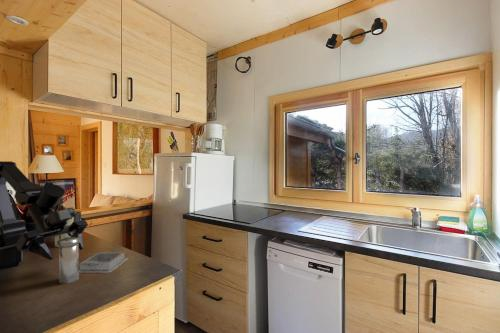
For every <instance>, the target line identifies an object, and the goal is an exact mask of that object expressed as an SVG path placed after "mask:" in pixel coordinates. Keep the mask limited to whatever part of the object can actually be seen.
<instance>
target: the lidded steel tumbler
mask: <svg viewBox="0 0 500 333" xmlns="http://www.w3.org/2000/svg"><path fill="white" fill-rule="evenodd" d="M79 243H80V238H78V237H69V238H64V239H61V240H59V241H57V246H58V247H57V248H58V266H59V267H58V270H59V271H58V272H59V273H58V278H59V284H61V285H62V284H63V285H66V284H71V283H75V282H76V281H78V280H79V279H80V277H79V276H80V273H79V269H80V263H79V256H80V255H79V250H80V249H79V248H78V244H79Z"/></svg>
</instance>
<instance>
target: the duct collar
mask: <svg viewBox="0 0 500 333" xmlns="http://www.w3.org/2000/svg"><path fill="white" fill-rule="evenodd" d="M127 260H129V258H128V257H125V252H97V253H95V254H93V255H92V256H89V257H88V258H87V259H84V260H83V261H82V262H80V263H79V274H81V273H83V274H84V273H93V274H94V273H99V274H100V273H103V274H107V273H111V272H113V271H114V270H116V269H117V268H118V267H119V266H121V265H122V264H124V263H125V262H126V261H127Z"/></svg>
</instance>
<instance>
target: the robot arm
mask: <svg viewBox="0 0 500 333" xmlns="http://www.w3.org/2000/svg"><path fill="white" fill-rule="evenodd" d="M7 183H8V184H9V185H10V187H11V188H12V189H13V191H14V192H15V193H14V196H13V197H14V198H15V201H16V203H18V205H20V206H29V208H28V210H27V212H26V217H28V218H29V217H31V218H32V219H33V221H34V222H35V226H34V228H35V229H34V230H30V231H28V229H27V228H26V225H25V224H26V223H25V222H24V221H23V220H18V219H16V215H15V212H14V208H13V205H12V202H11V198H10V195H9V190H8V188H7ZM65 194H66V190H65V189H64V188H63V187H62V186H59V185H57V184H54V182H44V185H43V186H41V184H38V183H35V182H32V181H30V179H28V177H27V176H26V175H25V174H24V172H22V171H21V169H20V168H18V166H17V164H16V162H14V161H6V160H5V161H2V160H1V161H0V269H6V268H11V267H12V268H13V267H17V266H20V264H21V263H22V262H23V260H24V258H23V257H24V255H23V254H24V252H23V251H25V252H31V253H34V254H37V255H39V256H41V257H42V258H45V259H47V260H49V261H53V259H54V255H53V254H52V252H51V251H50V249H49V247H48V246H47V244H46V242H45V239H50V238H53V237H54V238H55V236H58V235H62V234H66V233H67V234H68V235H69V236H71V237H78V238H80V243H79V244H78V249H79V250H80V251H82V250H83V249H84V243H83V232H84V231H85V229H86V228H87V227H88V226H89V223H88V222H87V221H86V219H81V220H79V221H75V222H73V223H72V224H71V225H70V227H66V228H64V225H66V224H67V221H68V220H69V219H72V217H74V216H76V210H75V208H74V207H67V208H65V209H63V210H56V211H55V210H54V209H53V208H55V207H57V206H58V203H59V202H60V201H61V199H63V197H64V196H65Z"/></svg>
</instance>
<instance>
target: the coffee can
mask: <svg viewBox="0 0 500 333" xmlns="http://www.w3.org/2000/svg"><path fill="white" fill-rule="evenodd" d="M75 211H76V210H75ZM79 220H82V211H76V216H74V217H72V219H69V220H68V221H67V224H66V225H64V228H66V227H70V225H71V224H72V223H73V222H75V221H79ZM69 237H71V236H69V235H68V234H67V233H66V234H62V235H58V236H54V247H57V248H59V247H58V246H57V241H59V240H61V239H64V238H69Z"/></svg>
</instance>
